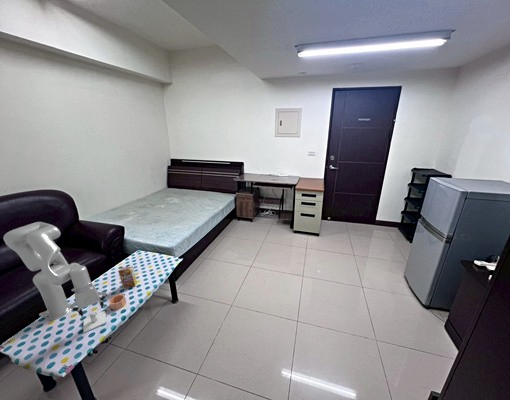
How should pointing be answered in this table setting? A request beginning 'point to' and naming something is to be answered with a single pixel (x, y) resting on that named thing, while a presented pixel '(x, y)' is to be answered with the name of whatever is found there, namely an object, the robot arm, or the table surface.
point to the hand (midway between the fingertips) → (92, 310)
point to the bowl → (117, 301)
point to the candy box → (127, 277)
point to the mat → (95, 328)
